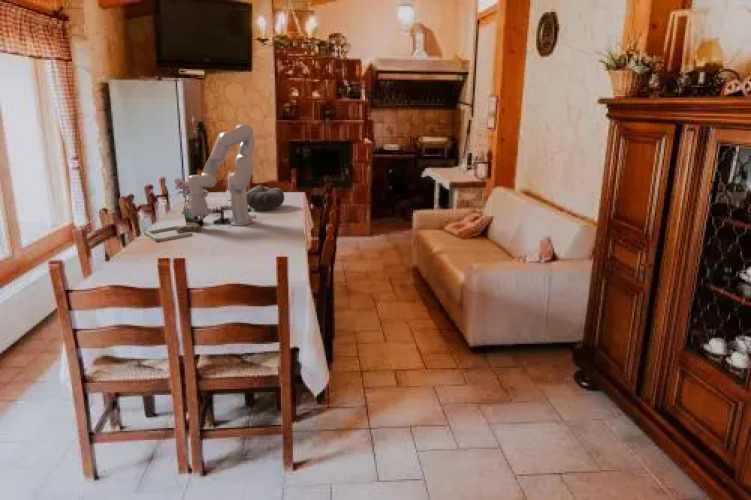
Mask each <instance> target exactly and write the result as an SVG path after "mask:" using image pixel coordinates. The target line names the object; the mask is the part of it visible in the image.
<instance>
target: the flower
mask: <svg viewBox="0 0 751 500" xmlns="http://www.w3.org/2000/svg"><path fill="white" fill-rule="evenodd" d="M173 182H174V184H175V187H174V188H175V189H176V190H177V191H178V192H177V193H176V196H177V195H179V194H181V195H182V197H183V196H184V205H183V207H181V214H184V213H183V209H188V208H189V199H191V197H190V189H189V181H187V180H186V181H184V179H183V178H180V177H177V176H176V177H175V179H174V181H173ZM203 193H206V195H205V196H204V198H207V197H208V196H209V194H210V192H209V191H208V190H207V188H203ZM187 197H188V199H187Z"/></svg>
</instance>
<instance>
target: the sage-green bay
mask: <svg viewBox="0 0 751 500" xmlns="http://www.w3.org/2000/svg"><path fill="white" fill-rule="evenodd" d="M176 227H180V225H178V224H177V225H173V226H167V227H161V228H155V229H154V228H153V229H149V230H144V231H143V234H144V235H145V234H146V235H147V236H146V235H145V236H146V237H148V236H149V237H151V238H152V239H154V240H155V241H160V242H164V241H163V240H165V241H169V240H168V239H171V240H175V238H176V239H181V238H185V237H186V236H187V237H190V236H193V231H191V232H185V233H178V234H173V235H172V234H171V235H167V236H163V237H158V236H156V235H154V234H157V233H156V232H158V233H163V232H169V231H173V230H174V231H175V230H176ZM151 233H152V234H151ZM149 237H148V238H149ZM180 237H181V238H180ZM151 238H150V239H151ZM152 239H151V240H152ZM154 240H153V241H154ZM155 241H154V242H155Z"/></svg>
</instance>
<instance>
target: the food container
mask: <svg viewBox="0 0 751 500" xmlns="http://www.w3.org/2000/svg"><path fill="white" fill-rule="evenodd" d="M187 208H188V207H187ZM182 214H183V215H184V220H185V224H186V225H187V223H193V222H194V223H196V224H197V220H196V219H193V218H190V214H189V208H188V209H183V213H182ZM186 225H185V226H186Z"/></svg>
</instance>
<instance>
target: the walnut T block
mask: <svg viewBox="0 0 751 500" xmlns="http://www.w3.org/2000/svg"><path fill="white" fill-rule="evenodd" d="M175 230H176V231H175V232H176V233H178V234H183V233H188V232H192V233H193V232H194V233H196V234H197V233H202V232H203V227H202V226H200V225H198V224H197V223H194V222H193V223H187V225H179V227H176V229H175Z"/></svg>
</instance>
